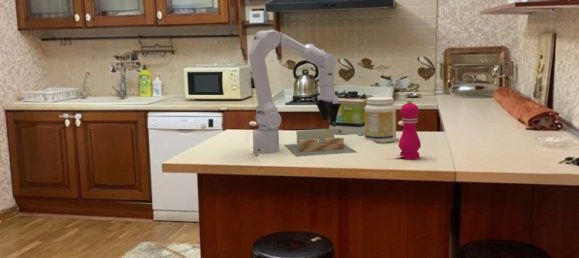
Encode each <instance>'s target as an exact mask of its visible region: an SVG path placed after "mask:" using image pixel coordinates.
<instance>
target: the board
mask: <svg viewBox="0 0 579 258" xmlns="http://www.w3.org/2000/svg"><path fill="white" fill-rule="evenodd" d="M318 144H319V142H318ZM283 145H284V147H285V148H286V149H288V151H289V152H290V153H291V154H293V155H294V157H296V158H297V157H298V158H299V157H309V156H310V157H312V156H313V157H314V156H326V155H338V154H339V155H341V154H353V153H358V151H356V150H355V149H353V148H352V147H350V146H348V145H346V144H345V143H344V149H338V150H323V151H309V152H300V151H299V147H297V143H294V144H283Z"/></svg>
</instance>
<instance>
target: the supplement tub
mask: <svg viewBox="0 0 579 258" xmlns="http://www.w3.org/2000/svg"><path fill="white" fill-rule="evenodd" d="M366 99H367V104H368V105H366V106H365V134H364V138H365V140H367V141H371V142H373V143H374V144H386V143H393V142H394V141H396V138H397V106H396V105H395V104H394V102H395V101H394V97H391V96H371V97H367V98H366Z"/></svg>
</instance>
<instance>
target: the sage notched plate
mask: <svg viewBox="0 0 579 258" xmlns="http://www.w3.org/2000/svg"><path fill="white" fill-rule="evenodd" d="M326 138H335V134H334V129H329V128H321V129H318V128H317V129H306V130H305V129H304V130H303V129H302V130H296V144H297V147H299V140H310V139H317V140H318V143H319V144H325V139H326Z"/></svg>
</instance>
